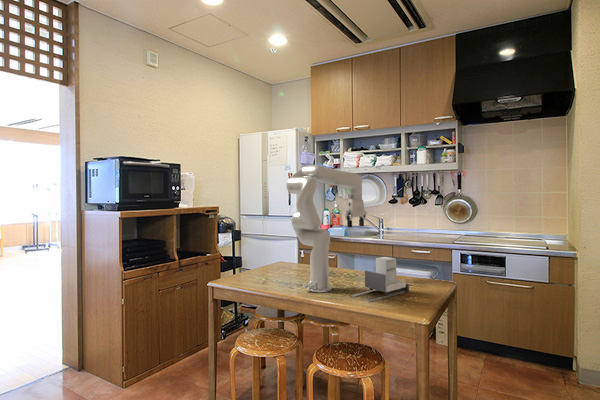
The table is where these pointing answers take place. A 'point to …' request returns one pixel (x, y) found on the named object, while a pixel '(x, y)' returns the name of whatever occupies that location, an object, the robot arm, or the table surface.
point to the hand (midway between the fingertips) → (355, 226)
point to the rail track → (405, 289)
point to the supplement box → (387, 268)
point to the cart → (381, 283)
